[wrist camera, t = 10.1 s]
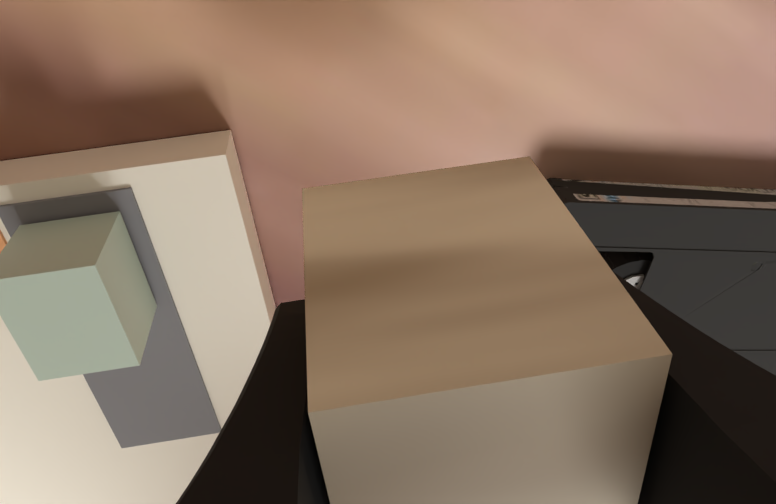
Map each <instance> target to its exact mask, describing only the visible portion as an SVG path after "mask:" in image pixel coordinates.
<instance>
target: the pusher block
mask: <svg viewBox="0 0 776 504" xmlns="http://www.w3.org/2000/svg"><path fill="white" fill-rule="evenodd" d="M302 205H303V243H304V281H305V319H306V357H307V395H308V415H309V419H310V423H311V427H312V431H313V435H314V439H315V443H316V448H317V452H318V456H319V460H320V464H321V468H322V472H323V476H324V480H325V484H326V488H327V492H328V496H329V501H330V504H638V500H639V495H640V491H641V487H642V483H643V478H644V474H645V470H646V465H647V461H648V457H649V453H650V448H651V444H652V440H653V435H654V431H655V427H656V423H657V418H658V414H659V410H660V405H661V401H662V397H663V393H664V388H665V384H666V380H667V376H668V371H669V367H670V363H671V358H672V353H671V351H670V350H669V349H668V347H667V346H666V344H665V343H664V342H663V340H662V339H661V338H660V336H659V335H658V333H657V332H656V331H655V329H654V328H653V327H652V325H651V324H650V322H649V321H648V320H647V318H646V317H645V315H644V314H643V313H642V311H641V310H640V309H639V307H638V306H637V304H636V303H635V302H634V300H633V299H632V298H631V296H630V295H629V293H628V292H627V291H626V289H625V288H624V286H623V285H622V284H621V282H620V281H619V280H618V278H617V277H616V275H615V274H614V273H613V271H612V270H611V269H610V267H609V266H608V264H607V263H606V262H605V260H604V259H603V258H602V256H601V255H600V253H599V252H598V251H597V249H596V248H595V246H594V245H593V244H592V242H591V241H590V240H589V238H588V237H587V235H586V234H585V233H584V231H583V230H582V229H581V227H580V226H579V224H578V223H577V222H576V220H575V219H574V217H573V216H572V215H571V213H570V212H569V211H568V209H567V208H566V206H565V205H564V204H563V202H562V201H561V200H560V198H559V197H558V195H557V194H556V193H555V191H554V190H553V189H552V187H551V186H550V184H549V183H548V182H547V180H546V179H545V177H544V176H543V175H542V173H541V172H540V171H539V169H538V168H537V166H536V165H535V164H534V162H533V161H532V160H531V158H530V157H523V158H516V159H509V160H502V161H495V162H487V163H480V164H473V165H466V166H459V167H452V168H445V169H438V170H431V171H424V172H417V173H410V174H403V175H396V176H389V177H382V178H375V179H368V180H361V181H354V182H347V183H339V184H332V185H325V186H318V187H311V188H304V189H302Z"/></svg>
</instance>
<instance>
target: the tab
mask: <svg viewBox="0 0 776 504" xmlns="http://www.w3.org/2000/svg"><path fill="white" fill-rule="evenodd" d="M156 307H157V304H156V302H155V299H154V297H153V294H152V291H151V289H150V286H149V284H148V281H147V279H146V276H145V274H144V271H143V269H142V266H141V264H140V261H139V259H138V256H137V253H136V251H135V248H134V246H133V243H132V241H131V238H130V236H129V233H128V231H127V228H126V226H125V223H124V221H123V218H122V215H121V213H120V211H117V212H110V213H103V214H96V215H89V216H82V217H75V218H67V219H60V220H53V221H46V222H39V223H32V224H25V225H19V227H18V228H17V230H16V231H15V233H14V234H13V236H12V237H11V238H10V240H9V241H8V243H7V244H6V246H5V247H4V249H3V250H2V251H1V253H0V316H1V318H2V320H3V321H4V323H5V325H6V326H7V328H8V330H9V332H10V333H11V335H12V337H13V338H14V340H15V342H16V343H17V345H18V347H19V349H20V350H21V352H22V354H23V355H24V357H25V359H26V360H27V362H28V364H29V366H30V367H31V369H32V371H33V372H34V374H35V376H36V377H37V379H38V381H42V380H49V379H55V378H62V377H68V376H75V375H81V374H88V373H94V372H101V371H107V370H114V369H120V368H127V367H133V366H140V363H141V360H142V356H143V353H144V349H145V346H146V342H147V339H148V335H149V332H150V328H151V325H152V321H153V318H154V314H155V311H156Z"/></svg>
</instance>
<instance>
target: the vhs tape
mask: <svg viewBox="0 0 776 504" xmlns="http://www.w3.org/2000/svg"><path fill="white" fill-rule="evenodd" d="M547 182H548V183H549V184H550V186H551V187H552V189H553V190H554V191H555V193H556V194H557V195H558V197H559V198H560V200H561V201H562V202H563V204H564V205H565V206H566V208H567V209H568V211H569V212H570V213H571V215H572V216H573V217H574V219H575V220H576V222H577V223H578V224H579V226H580V227H581V229H582V230H583V231H584V233H585V234H586V235H587V237H588V238H589V240H590V241H591V242H592V244H593V245H594V246H595V248H596V249H597V251H598V252H599V253H600V255H601V256H602V258H603V259H604V260H605V262H606V263H607V264H608V266H609V267H610V269H611V270H612V271H613V272H614V273H616V274H617V275H619V276H620V277H622V278H623V279H624V280H626V281H627V282H629V283H630V284H632V285H633V286H634V287H636V288H637V289H639V290H640V291H642V292H643V293H645V294H646V295H647V296H649V297H650V298H652V299H653V300H655V301H656V302H658V303H659V304H660V305H662V306H663V307H665V308H666V309H668V310H669V311H671V312H672V313H674V314H675V315H677V316H678V317H680V318H681V319H683V320H684V321H686V322H687V323H689V324H690V325H692V326H694V327H695V328H697V329H698V330H700V331H701V332H703V333H705V334H706V335H708V336H709V337H711V338H713V339H714V340H716V341H717V342H719V343H721V344H722V345H724V346H726V347H727V348H729V349H731V350H732V351H734V352H736V353H737V354H739V355H741V356H743V357H744V358H746V359H748V360H749V361H751V362H753V363H754V364H756V365H758V366H759V367H761V368H763V369H765V370H767V371H768V372H770V373H772V374H774V375H776V190H772V189H751V188H730V187H709V186H689V185H668V184H647V183H626V182H605V181H584V180H563V179H557V178H549V179H547Z"/></svg>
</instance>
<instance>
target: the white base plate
mask: <svg viewBox="0 0 776 504" xmlns="http://www.w3.org/2000/svg"><path fill="white" fill-rule="evenodd" d="M117 211H120V213H121V215H122V218H123V221H124V223H125V226H126V228H127V231H128V233H129V236H130V238H131V241H132V243H133V246H134V248H135V251H136V253H137V256H138V259H139V261H140V264H141V266H142V269H143V271H144V274H145V276H146V279H147V281H148V284H149V286H150V289H151V291H152V294H153V297H154V299H155V302H156V304H157V307H156V311H155V314H154V318H153V321H152V325H151V328H150V332H149V335H148V339H147V342H146V346H145V349H144V353H143V356H142V360H141V363H140V366H133V367H127V368H120V369H114V370H107V371H101V372H94V373H88V374H81V375H75V376H68V377H62V378H55V379H49V380H42V381H38V379H37V377H36V376H35V374H34V372H33V371H32V369H31V367H30V366H29V364H28V362H27V360H26V359H25V357H24V355H23V354H22V352H21V350H20V349H19V347H18V345H17V343H16V342H15V340H14V338H13V337H12V335H11V333H10V332H9V330H8V328H7V326H6V325H5V323H4V321H3V320H2V318H1V316H0V504H176V503H177V501H178V500H179V498H180V497H181V495H182V494H183V492H184V491H185V489H186V488H187V486H188V485H189V483H190V482H191V480H192V478H193V477H194V475H195V474H196V472H197V470H198V469H199V467H200V466H201V464H202V462H203V461H204V459H205V457H206V456H207V454H208V452H209V451H210V449H211V447H212V445H213V444H214V442H215V440H216V438H217V436H218V435H219V433H220V431H221V429H222V427H223V426H224V424H225V422H226V420H227V418H228V417H229V415H230V413H231V411H232V409H233V407H234V405H235V403H236V402H237V400H238V397H239V395H240V393H241V391H242V389H243V387H244V385H245V383H246V381H247V379H248V377H249V374H250V372H251V370H252V368H253V366H254V364H255V362H256V359H257V357H258V354H259V352H260V350H261V347H262V345H263V343H264V340H265V338H266V335H267V332H268V330H269V327H270V324H271V321H272V318H273V315H274V312H275V309H276V306H275V302H274V298H273V294H272V290H271V287H270V283H269V279H268V275H267V271H266V267H265V263H264V259H263V255H262V251H261V247H260V243H259V239H258V235H257V231H256V227H255V223H254V219H253V216H252V212H251V208H250V204H249V200H248V196H247V192H246V188H245V184H244V180H243V176H242V172H241V168H240V164H239V160H238V156H237V152H236V148H235V145H234V141H233V137H232V133H231V130H226V131H218V132H211V133H204V134H196V135H189V136H182V137H174V138H167V139H159V140H152V141H145V142H137V143H130V144H123V145H115V146H108V147H101V148H93V149H86V150H79V151H71V152H64V153H57V154H49V155H42V156H34V157H27V158H20V159H12V160H5V161H0V253H1V251H2V250H3V249H4V247H5V246H6V244H7V243H8V241H9V240H10V238H11V237H12V236H13V234H14V233H15V231H16V230H17V228H18V227H19V225H25V224H32V223H39V222H46V221H53V220H60V219H67V218H75V217H82V216H89V215H96V214H103V213H110V212H117Z"/></svg>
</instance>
